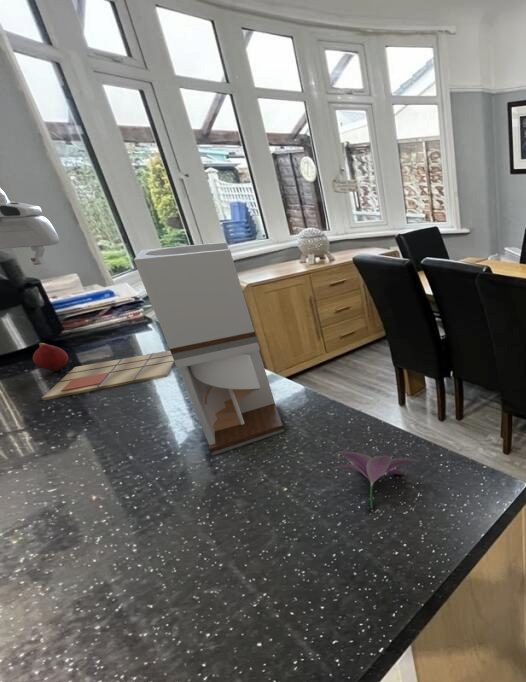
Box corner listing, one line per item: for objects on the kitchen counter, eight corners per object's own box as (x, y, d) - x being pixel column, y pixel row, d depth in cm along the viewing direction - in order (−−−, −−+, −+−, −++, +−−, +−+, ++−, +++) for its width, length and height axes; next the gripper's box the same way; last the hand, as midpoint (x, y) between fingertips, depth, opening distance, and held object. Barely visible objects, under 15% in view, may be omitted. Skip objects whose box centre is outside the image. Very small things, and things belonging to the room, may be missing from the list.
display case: (213, 458, 69) (133, 259, 55) (211, 429, 77) (141, 249, 63) (285, 433, 75) (230, 249, 62) (276, 409, 83) (226, 241, 69)
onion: (69, 364, 107) (55, 336, 103) (76, 368, 104) (62, 340, 101) (38, 372, 102) (22, 344, 99) (44, 377, 99) (28, 349, 96)
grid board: (44, 402, 88) (40, 397, 87) (76, 371, 103) (74, 366, 102) (167, 378, 98) (165, 373, 97) (181, 352, 112) (179, 347, 112)
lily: (433, 496, 61) (427, 434, 62) (376, 525, 51) (369, 449, 52) (377, 495, 66) (372, 438, 68) (315, 521, 56) (310, 453, 57)
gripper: (-89, 213, 89) (-53, 273, 94) (32, 208, 96) (59, 264, 102) (-66, 211, 94) (-33, 268, 100) (48, 206, 102) (73, 259, 107)
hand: (15, 266), depth 101 cm, fingers open, 8 cm apart
